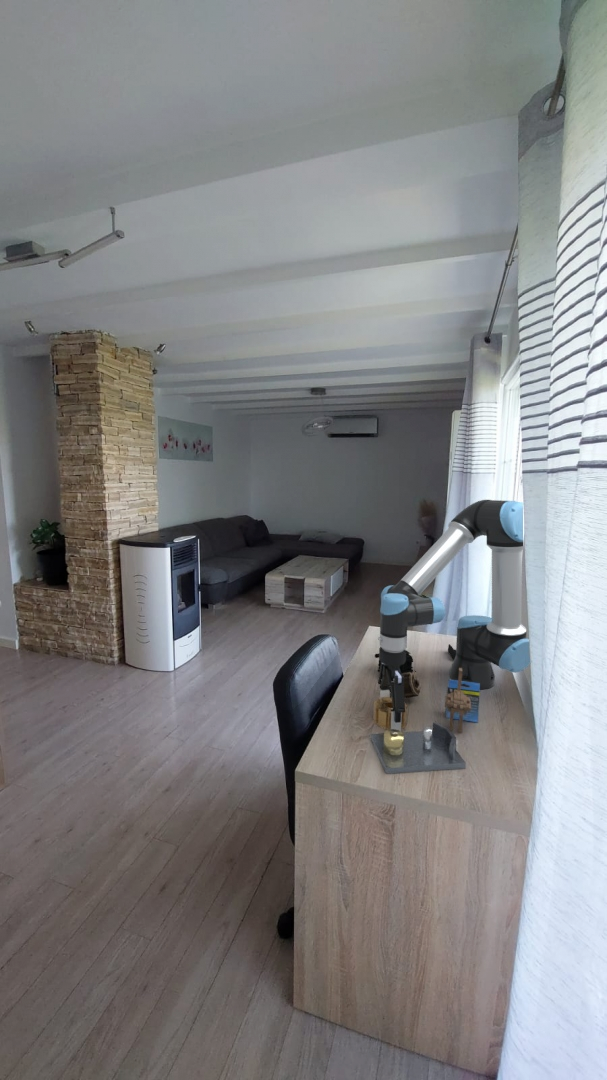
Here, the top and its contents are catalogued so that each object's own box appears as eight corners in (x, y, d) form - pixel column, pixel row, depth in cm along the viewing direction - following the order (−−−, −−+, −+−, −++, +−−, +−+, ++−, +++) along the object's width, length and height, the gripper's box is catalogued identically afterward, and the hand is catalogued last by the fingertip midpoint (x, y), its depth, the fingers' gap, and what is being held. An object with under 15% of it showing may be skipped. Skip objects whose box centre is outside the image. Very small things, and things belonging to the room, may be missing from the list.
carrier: (440, 734, 119) (442, 712, 118) (465, 768, 105) (467, 743, 104) (370, 738, 116) (371, 716, 115) (386, 773, 102) (387, 748, 102)
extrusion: (419, 679, 152) (420, 653, 150) (388, 685, 147) (389, 657, 146) (399, 665, 163) (400, 640, 162) (370, 670, 159) (371, 644, 157)
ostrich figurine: (443, 722, 125) (448, 664, 122) (467, 727, 123) (473, 668, 120) (441, 757, 109) (447, 692, 107) (469, 764, 107) (476, 697, 104)
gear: (400, 711, 130) (400, 696, 129) (411, 729, 121) (411, 713, 120) (370, 713, 129) (370, 697, 128) (378, 731, 120) (379, 714, 119)
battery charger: (479, 654, 175) (480, 645, 175) (488, 664, 166) (489, 654, 165) (447, 653, 176) (448, 644, 175) (454, 663, 167) (455, 653, 166)
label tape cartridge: (476, 716, 128) (479, 677, 127) (478, 723, 125) (480, 683, 123) (445, 711, 131) (447, 673, 129) (445, 718, 127) (448, 679, 125)
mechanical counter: (421, 709, 132) (423, 678, 130) (379, 704, 134) (381, 674, 133) (420, 697, 139) (421, 668, 138) (380, 693, 141) (381, 664, 140)
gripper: (369, 634, 133) (367, 701, 136) (392, 665, 110) (389, 744, 113) (392, 633, 133) (390, 700, 137) (420, 664, 111) (416, 743, 114)
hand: (389, 720), depth 125 cm, fingers open, 10 cm apart
